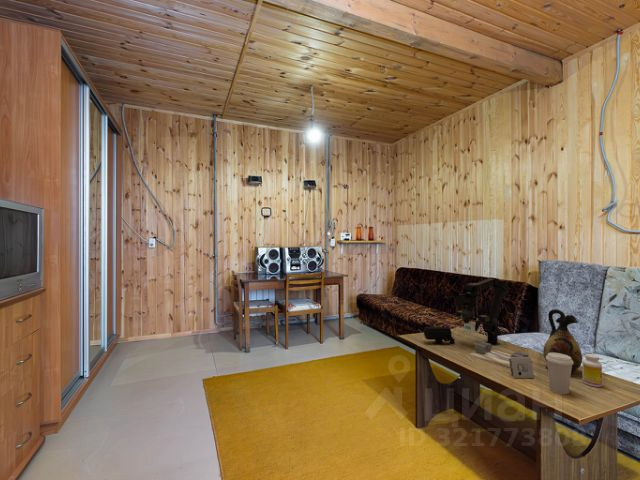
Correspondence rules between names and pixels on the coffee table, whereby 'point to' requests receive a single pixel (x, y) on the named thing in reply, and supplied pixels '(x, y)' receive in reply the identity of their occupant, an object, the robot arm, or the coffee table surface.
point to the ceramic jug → (563, 339)
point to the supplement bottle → (592, 371)
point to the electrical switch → (521, 367)
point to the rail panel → (494, 354)
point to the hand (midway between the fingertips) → (471, 330)
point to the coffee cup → (559, 372)
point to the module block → (470, 328)
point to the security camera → (439, 334)
